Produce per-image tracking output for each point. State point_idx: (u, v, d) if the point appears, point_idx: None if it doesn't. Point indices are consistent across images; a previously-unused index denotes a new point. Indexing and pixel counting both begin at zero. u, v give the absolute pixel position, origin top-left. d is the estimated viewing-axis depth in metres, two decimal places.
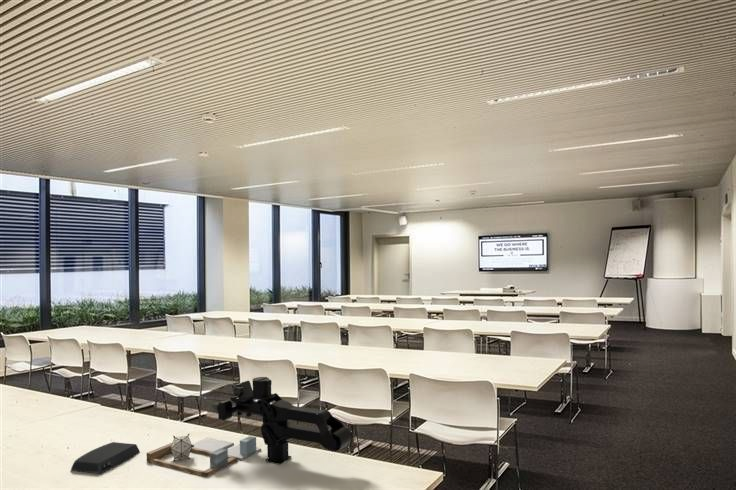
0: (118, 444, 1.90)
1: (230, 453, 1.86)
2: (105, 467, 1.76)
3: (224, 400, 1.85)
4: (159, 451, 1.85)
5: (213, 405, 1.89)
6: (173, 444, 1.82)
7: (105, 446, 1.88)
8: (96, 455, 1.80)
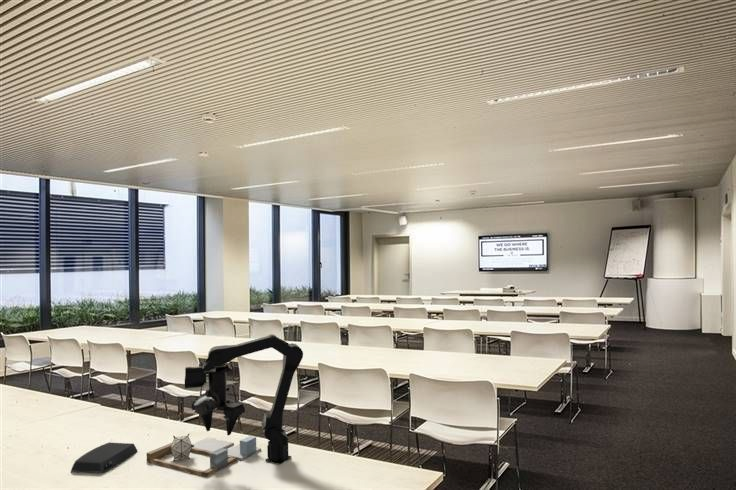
0: (115, 444, 1.90)
1: (230, 453, 1.86)
2: (107, 466, 1.76)
3: (225, 415, 1.70)
4: (159, 451, 1.85)
5: (229, 432, 1.73)
6: (173, 444, 1.82)
7: (102, 446, 1.88)
8: (96, 455, 1.80)
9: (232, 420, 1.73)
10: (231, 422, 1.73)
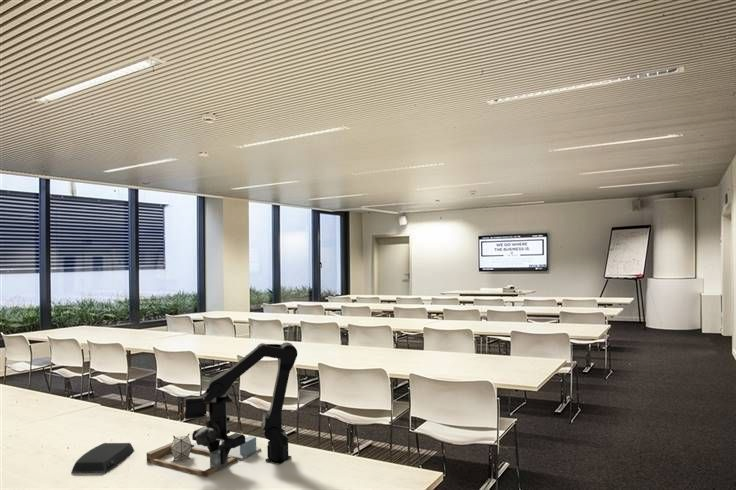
0: (112, 444, 1.90)
1: (230, 453, 1.86)
2: (109, 466, 1.77)
3: (226, 446, 1.70)
4: (159, 451, 1.85)
5: (223, 462, 1.74)
6: (173, 444, 1.82)
7: (99, 447, 1.88)
8: (96, 455, 1.80)
9: (226, 449, 1.75)
10: (225, 451, 1.74)
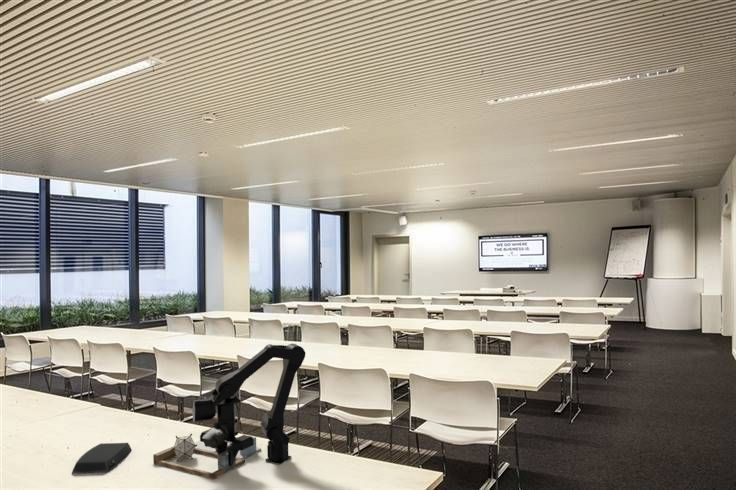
0: (109, 444, 1.90)
1: None
2: (110, 465, 1.77)
3: (234, 448, 1.68)
4: (166, 453, 1.83)
5: (231, 464, 1.73)
6: (176, 444, 1.82)
7: (96, 447, 1.87)
8: (96, 455, 1.80)
9: (234, 451, 1.73)
10: (233, 453, 1.73)
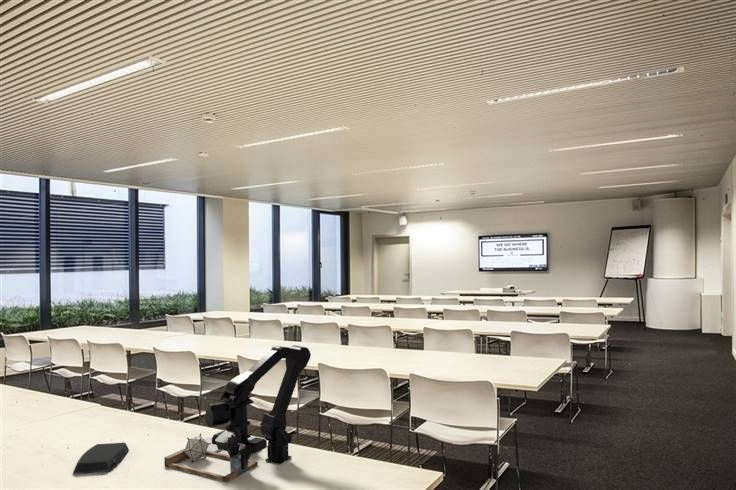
0: (106, 444, 1.90)
1: None
2: (112, 465, 1.77)
3: (247, 451, 1.66)
4: (177, 455, 1.80)
5: (243, 467, 1.70)
6: (191, 445, 1.80)
7: (94, 448, 1.87)
8: (96, 455, 1.80)
9: (247, 454, 1.70)
10: (246, 456, 1.70)
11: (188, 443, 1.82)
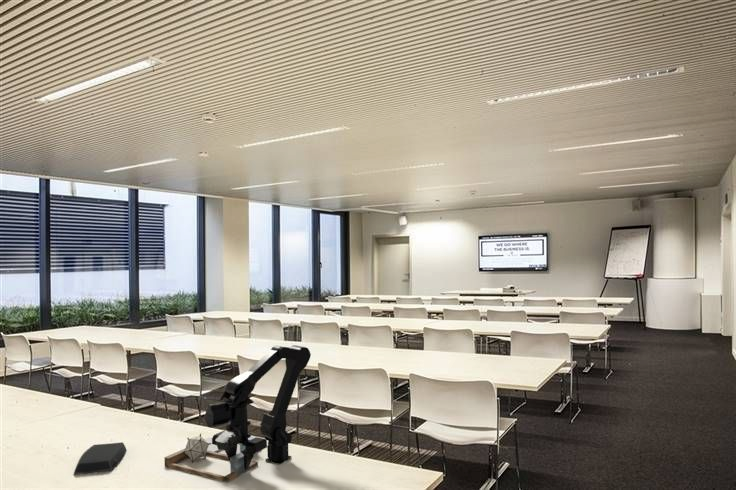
0: (104, 445, 1.90)
1: None
2: (113, 464, 1.78)
3: (247, 451, 1.66)
4: (177, 455, 1.80)
5: (246, 467, 1.70)
6: (191, 445, 1.80)
7: (92, 448, 1.86)
8: (96, 455, 1.79)
9: (250, 454, 1.70)
10: (249, 457, 1.69)
11: (188, 443, 1.82)
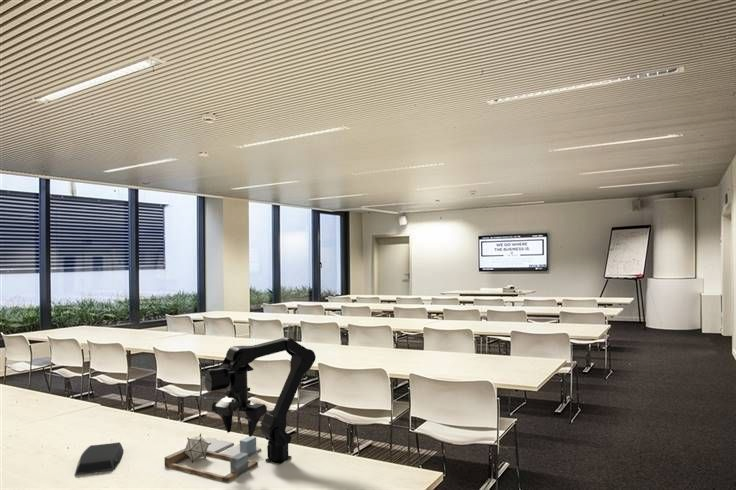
0: (101, 445, 1.89)
1: (230, 453, 1.86)
2: (114, 464, 1.78)
3: (247, 416, 1.67)
4: (177, 455, 1.80)
5: (251, 434, 1.70)
6: (191, 445, 1.80)
7: (90, 449, 1.86)
8: (96, 455, 1.79)
9: (254, 421, 1.70)
10: (253, 423, 1.70)
11: (188, 443, 1.82)
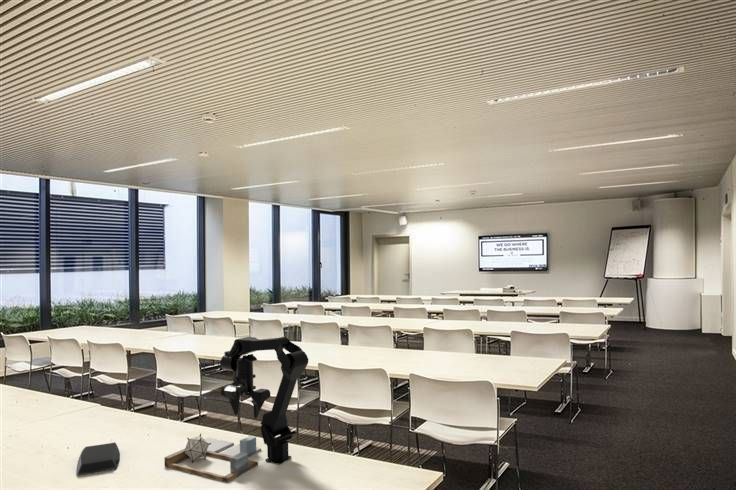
0: (97, 446, 1.89)
1: (230, 453, 1.86)
2: (115, 463, 1.79)
3: (253, 400, 1.85)
4: (177, 455, 1.80)
5: (256, 416, 1.88)
6: (191, 445, 1.80)
7: (86, 450, 1.85)
8: (96, 456, 1.79)
9: (259, 404, 1.89)
10: (258, 406, 1.88)
11: (188, 443, 1.82)
